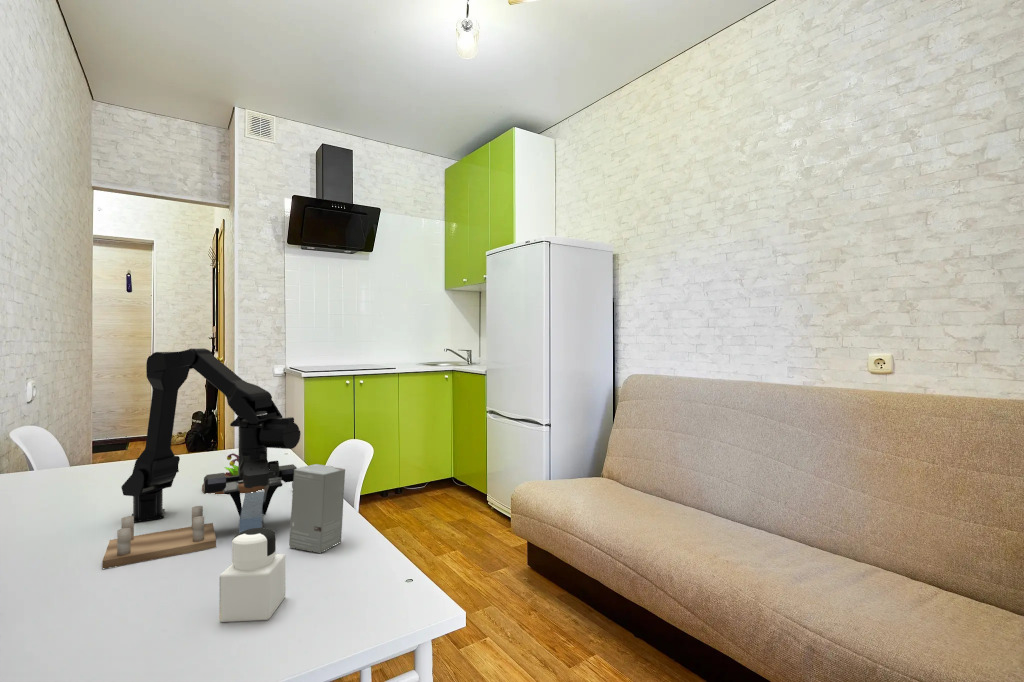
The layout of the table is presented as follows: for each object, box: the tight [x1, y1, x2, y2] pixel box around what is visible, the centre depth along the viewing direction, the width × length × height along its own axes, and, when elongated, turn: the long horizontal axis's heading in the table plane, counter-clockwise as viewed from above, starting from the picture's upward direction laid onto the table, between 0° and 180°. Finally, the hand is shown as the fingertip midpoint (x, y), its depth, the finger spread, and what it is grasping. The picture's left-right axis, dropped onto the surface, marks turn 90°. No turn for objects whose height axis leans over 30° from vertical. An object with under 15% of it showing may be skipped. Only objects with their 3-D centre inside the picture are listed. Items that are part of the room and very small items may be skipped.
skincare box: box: [288, 463, 346, 554], centre depth 104 cm, size 8×7×16 cm
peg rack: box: [101, 505, 217, 570], centre depth 103 cm, size 12×18×6 cm, turn 123°
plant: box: [201, 452, 265, 495], centre depth 149 cm, size 20×20×11 cm
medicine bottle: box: [219, 527, 286, 623], centre depth 78 cm, size 7×7×12 cm
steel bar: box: [238, 490, 264, 534], centre depth 113 cm, size 20×4×4 cm, turn 25°
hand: (252, 516), depth 113 cm, fingers closed on steel bar, 4 cm apart
